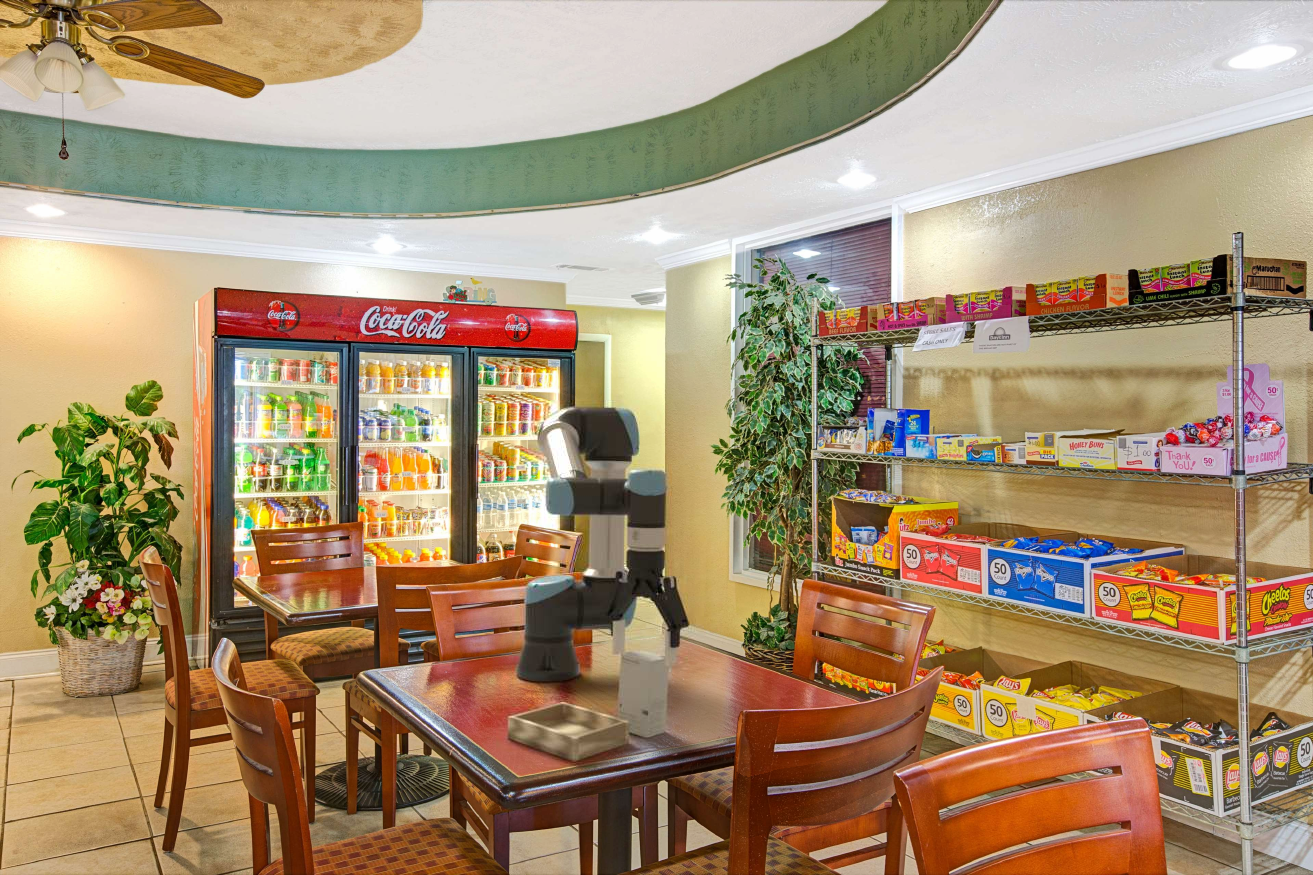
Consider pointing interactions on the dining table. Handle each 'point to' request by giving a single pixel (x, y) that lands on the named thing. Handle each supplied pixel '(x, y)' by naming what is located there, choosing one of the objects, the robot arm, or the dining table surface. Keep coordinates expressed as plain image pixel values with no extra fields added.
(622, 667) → the skincare box
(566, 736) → the tray
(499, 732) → the dining table surface
